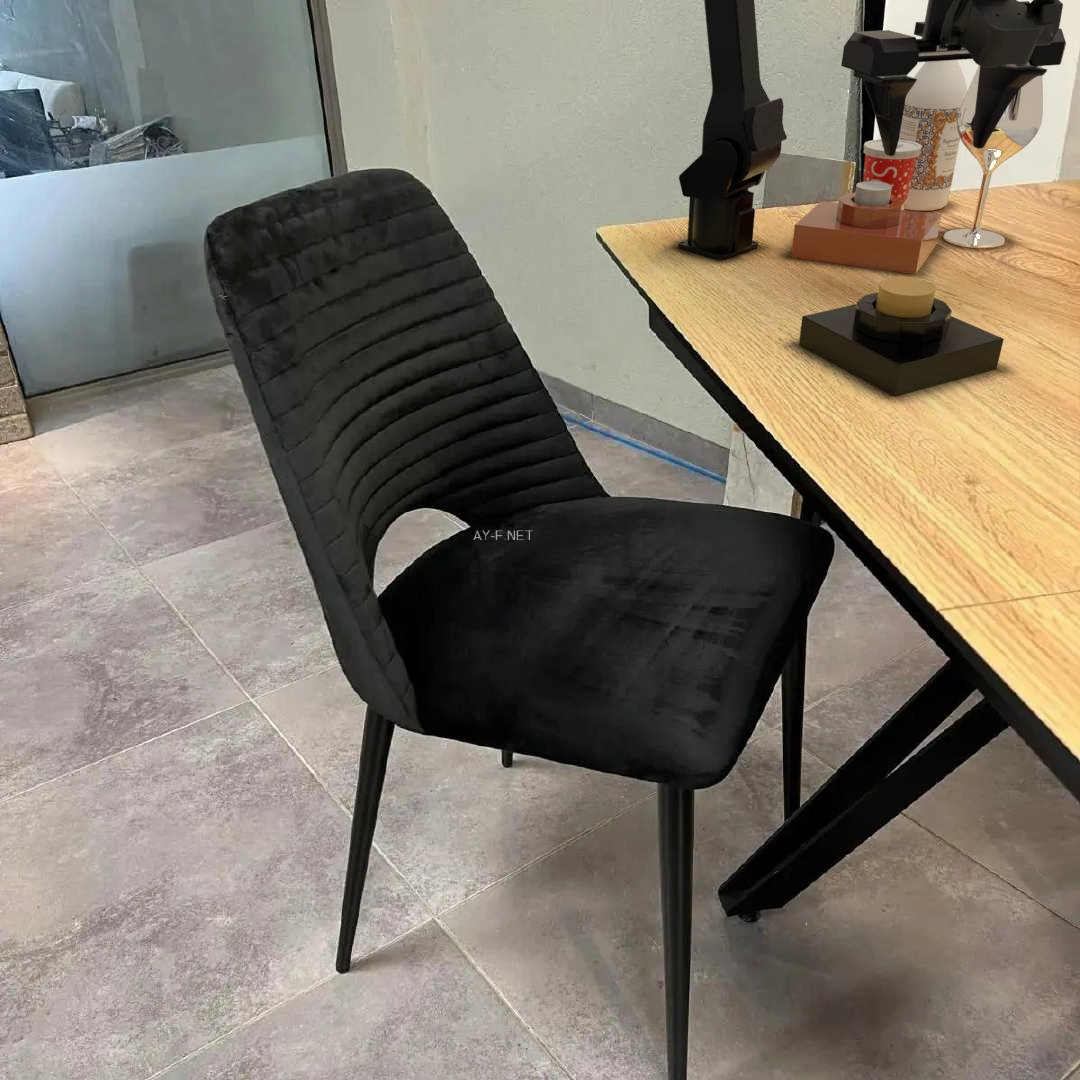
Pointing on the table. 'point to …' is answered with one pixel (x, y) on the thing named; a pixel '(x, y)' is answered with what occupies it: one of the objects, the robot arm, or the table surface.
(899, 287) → the yellow cylinder
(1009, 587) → the table surface
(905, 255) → the button housing
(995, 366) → the black push button base
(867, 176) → the beverage cup
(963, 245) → the wineglass
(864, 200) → the white cylinder
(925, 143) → the bath foam
